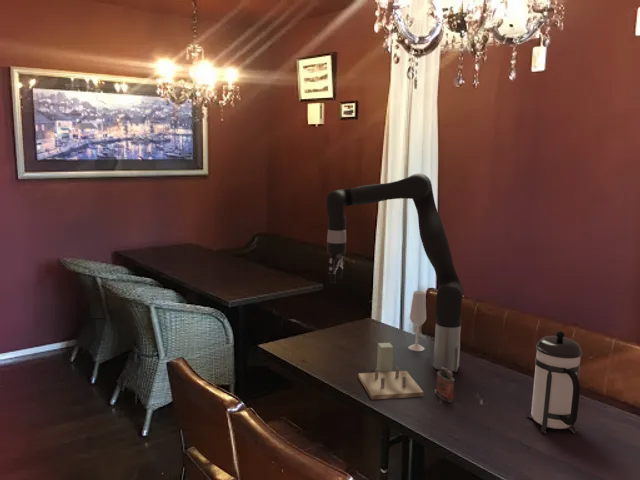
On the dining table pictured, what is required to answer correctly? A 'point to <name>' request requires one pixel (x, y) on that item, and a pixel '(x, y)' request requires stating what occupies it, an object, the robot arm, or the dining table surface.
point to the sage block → (384, 357)
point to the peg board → (390, 385)
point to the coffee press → (556, 382)
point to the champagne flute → (418, 316)
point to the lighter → (445, 384)
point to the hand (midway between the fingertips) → (335, 280)
